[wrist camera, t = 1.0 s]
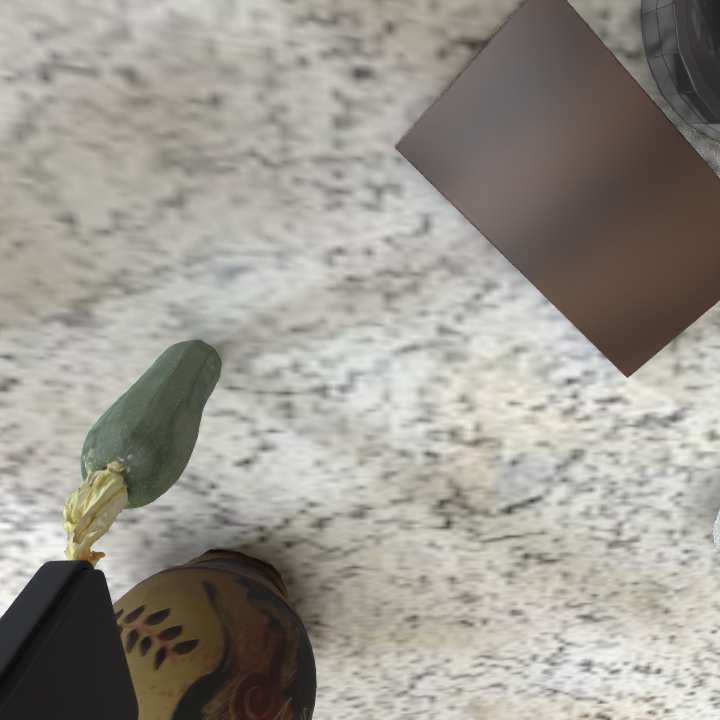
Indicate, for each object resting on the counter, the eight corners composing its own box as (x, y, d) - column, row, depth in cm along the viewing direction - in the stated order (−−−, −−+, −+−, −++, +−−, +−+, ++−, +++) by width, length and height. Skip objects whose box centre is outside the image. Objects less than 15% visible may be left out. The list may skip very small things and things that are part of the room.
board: (394, 146, 36) (394, 147, 35) (539, -17, 33) (547, -23, 32) (619, 369, 40) (627, 378, 39) (765, 244, 37) (780, 249, 36)
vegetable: (181, 311, 40) (6, 478, 21) (248, 322, 40) (135, 498, 21) (176, 375, 41) (10, 583, 23) (241, 386, 42) (130, 601, 23)
